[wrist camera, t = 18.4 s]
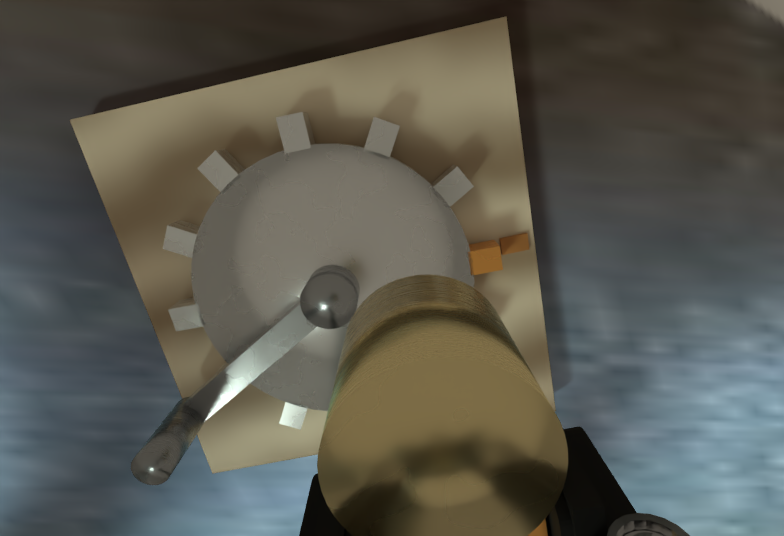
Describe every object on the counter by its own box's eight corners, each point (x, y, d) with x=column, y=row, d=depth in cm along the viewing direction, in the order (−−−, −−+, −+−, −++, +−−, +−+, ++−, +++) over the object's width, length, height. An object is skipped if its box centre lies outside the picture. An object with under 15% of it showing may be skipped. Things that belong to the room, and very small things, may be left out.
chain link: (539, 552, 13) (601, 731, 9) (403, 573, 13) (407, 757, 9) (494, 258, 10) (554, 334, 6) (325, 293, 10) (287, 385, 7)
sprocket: (549, 179, 25) (602, 195, 19) (422, 471, 31) (430, 557, 24) (212, 59, 23) (146, 32, 17) (144, 394, 29) (76, 465, 23)
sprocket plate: (547, 398, 31) (556, 412, 29) (220, 458, 32) (211, 475, 31) (499, 23, 24) (507, 15, 23) (87, 120, 26) (67, 119, 24)
